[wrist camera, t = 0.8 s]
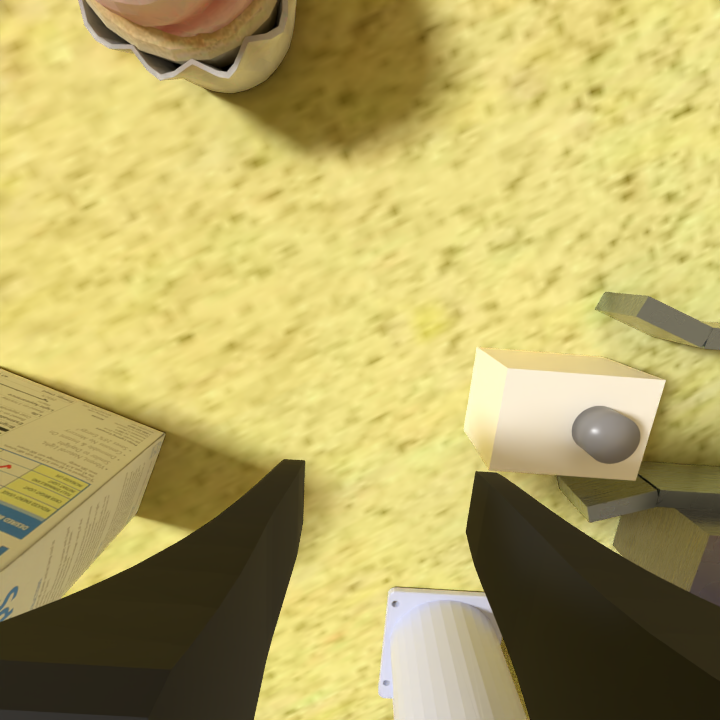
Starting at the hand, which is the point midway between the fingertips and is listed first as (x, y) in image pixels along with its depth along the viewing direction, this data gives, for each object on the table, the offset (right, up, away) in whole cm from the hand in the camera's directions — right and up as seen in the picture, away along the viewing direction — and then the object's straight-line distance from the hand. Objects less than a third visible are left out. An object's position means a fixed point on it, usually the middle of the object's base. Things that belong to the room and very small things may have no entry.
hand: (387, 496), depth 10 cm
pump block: (+9, +2, +10) cm, 14 cm away
